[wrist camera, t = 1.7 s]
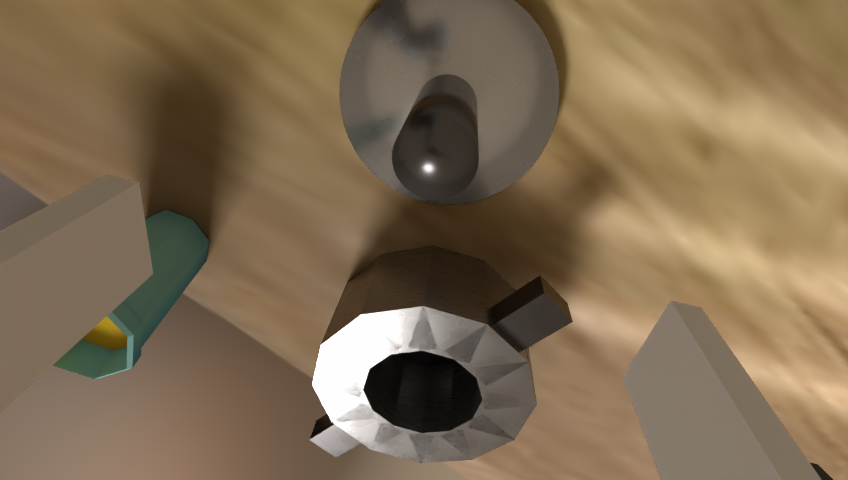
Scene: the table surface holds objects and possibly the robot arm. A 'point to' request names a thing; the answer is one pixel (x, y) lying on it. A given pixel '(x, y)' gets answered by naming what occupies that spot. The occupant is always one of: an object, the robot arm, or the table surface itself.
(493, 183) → the lid
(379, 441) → the pot
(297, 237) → the table surface
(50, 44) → the table surface
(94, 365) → the cup
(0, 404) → the robot arm
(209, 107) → the table surface
